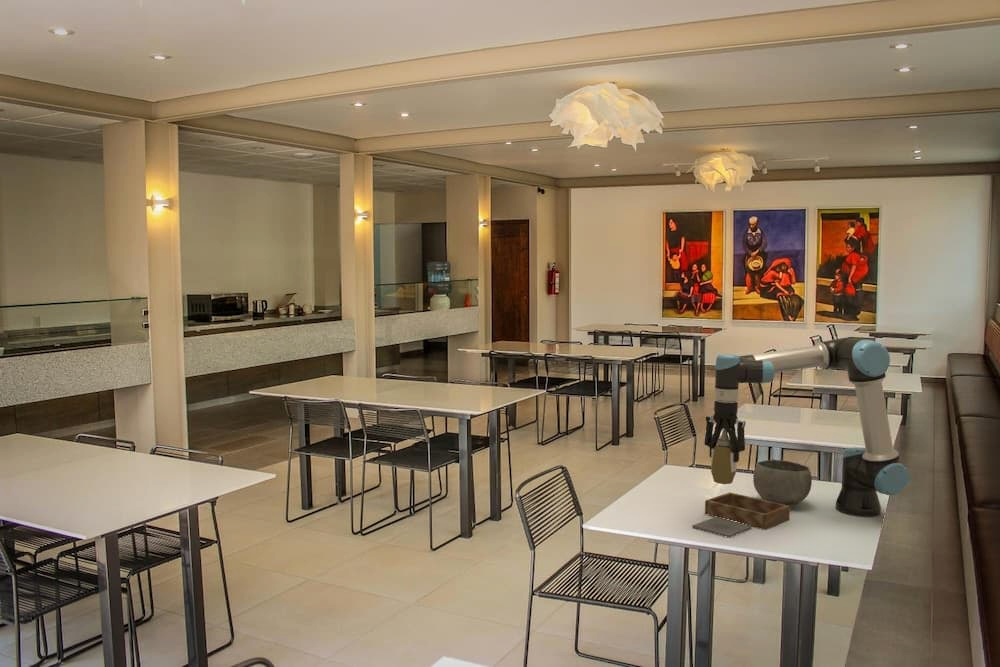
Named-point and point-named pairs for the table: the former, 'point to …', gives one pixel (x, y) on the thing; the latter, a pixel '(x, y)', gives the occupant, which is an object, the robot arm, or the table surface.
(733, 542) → the table surface
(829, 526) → the table surface
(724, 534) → the charcoal mat
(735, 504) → the tray
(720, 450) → the squeeze bottle
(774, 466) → the bowl
